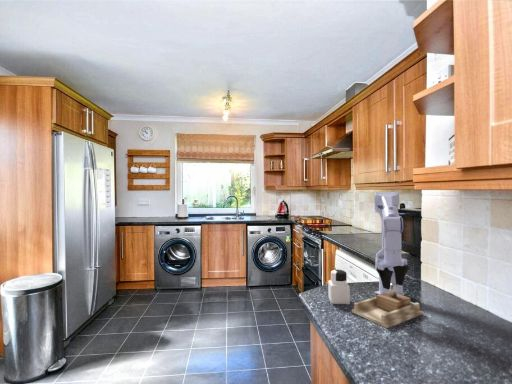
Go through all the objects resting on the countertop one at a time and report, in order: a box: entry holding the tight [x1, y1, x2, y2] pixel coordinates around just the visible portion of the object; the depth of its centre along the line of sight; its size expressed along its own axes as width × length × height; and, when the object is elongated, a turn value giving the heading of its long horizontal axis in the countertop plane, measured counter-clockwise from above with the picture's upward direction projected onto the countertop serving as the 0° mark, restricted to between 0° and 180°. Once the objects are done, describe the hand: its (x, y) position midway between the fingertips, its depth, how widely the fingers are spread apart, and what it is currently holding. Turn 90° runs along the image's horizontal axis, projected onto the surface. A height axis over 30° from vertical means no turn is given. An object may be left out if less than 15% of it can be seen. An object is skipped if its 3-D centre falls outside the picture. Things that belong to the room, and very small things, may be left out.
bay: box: [351, 296, 424, 329], centre depth 99 cm, size 20×14×4 cm
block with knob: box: [375, 283, 412, 312], centre depth 101 cm, size 8×8×9 cm
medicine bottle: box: [327, 269, 351, 305], centre depth 111 cm, size 7×7×12 cm
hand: (392, 286), depth 101 cm, fingers open, 7 cm apart
